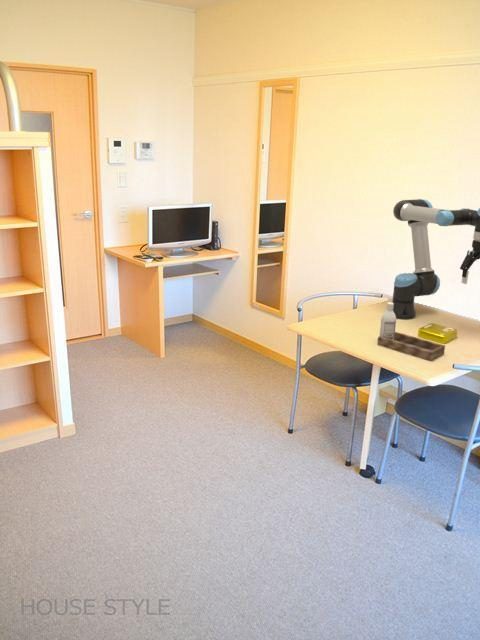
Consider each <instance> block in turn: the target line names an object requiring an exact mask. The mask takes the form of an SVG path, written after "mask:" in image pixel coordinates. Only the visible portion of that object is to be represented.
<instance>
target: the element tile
mask: <svg viewBox="0 0 480 640" xmlns="http://www.w3.org/2000/svg"><path fill="white" fill-rule="evenodd" d="M417 331H418V332H417V338H420V339H423V340H427V341H430V342H434V343H438V344H441V345H445V344H447V343H450V342H452V341H453V340H455V339H457V336H458V329H456V328H451V327H448V326H445V325H441V324H438V323H437V324H436V323H434V322H433V323H432V322H431V323H429V324H427V325H424V326H422V327H419V328H418V330H417Z"/></svg>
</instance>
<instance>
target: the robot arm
mask: <svg viewBox="0 0 480 640" xmlns="http://www.w3.org/2000/svg"><path fill="white" fill-rule="evenodd" d="M392 211H393V212H392V213H393V216H394V218H395V219H396V220H398V221H399V222H400V221H401V222H407V226H409V227H410V229H411V238H412V239H411V240H412V248H413V249H412V250H413V260H414V270H413V272H412V273H411V272H408V273H406V272H405V273H399V274H397V275H396V277H394V278H395V279H394V282H393V292H392V293H393V294H392V301H391V303H394V306H393V312H394V313H395V316H396V319H397V320H398V319H400V320H411V319H415V318H416V317H417V315H416V313H417V311H416V307H415V297H423V296H424V297H425V296H430V295H435V294H436V293H437V292H438V290H439V289H440V285H441V279H440V277H439V276H438V274H436V273H435V270H434V268H432V263H431V252H430V242H429V234H428V233H429V231H428V225H429V224H435V225H438V226H440V227H449V226H450V227H451V226H471V227H474V231H473V236H472V239H473V240H472V244H471V247H472V250H470V249H469V250H467V251H466V255H465V256H464V259H463V261H462V263H461V266H460V267H459V269H460V270H461V271H462V274H461V282H460V283H462V284H464V285H467V284H468V279H469V273H470V271H469V270H470V268H471V267H472V265H473V264H474V263H475V262H477V260H480V207H479V208H478V209H477V210H475V209H470V208H465V207H464V208H460V209H453V210H452V209H441V208H434V207H433V204H432V203H431V202H430V201H429V200H427V199H422V198H420V199H419V198H418V199H402V200H400V201H398V202H397V203H396V204H395V205H394V207H393V210H392Z"/></svg>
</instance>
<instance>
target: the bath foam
mask: <svg viewBox="0 0 480 640" xmlns="http://www.w3.org/2000/svg"><path fill="white" fill-rule="evenodd" d="M393 306H394V303H392V301H391V302H390V301H389V302H388V301H387V304H386V310H385V311H384V313H383V314H382V316H381V319H380V320H381V321H380V329H379V336H381V337H384V338H388V339H391V340H394V335H395V332H396V327H397V326H396V325H397V324H396V323H397V318H396V316H395V313H394V312H393ZM394 341H395V340H394Z"/></svg>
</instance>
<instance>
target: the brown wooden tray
mask: <svg viewBox="0 0 480 640" xmlns="http://www.w3.org/2000/svg"><path fill="white" fill-rule="evenodd" d="M377 346H380V347H384V348H387V349H391V350H394V351H396V352H400V353H403V354H405V355H410V356H413V357H416V358H420V359H423V360H426V361H429V362H432V361H434V360H436V359H438V358H439V357H441V356H442V355H444V354H445V349H446V345H445V344H441V343H437V342H434V341H430V340H427V339H423V338H420V337H417V336H412V335H408V334H405V333H401V332H399V331H395V335H394V340H391V339H388V338H384V337H381V336H380V335H379V336H378V337H377Z"/></svg>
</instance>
